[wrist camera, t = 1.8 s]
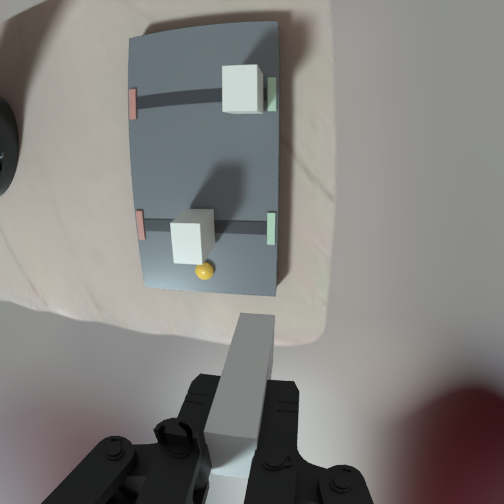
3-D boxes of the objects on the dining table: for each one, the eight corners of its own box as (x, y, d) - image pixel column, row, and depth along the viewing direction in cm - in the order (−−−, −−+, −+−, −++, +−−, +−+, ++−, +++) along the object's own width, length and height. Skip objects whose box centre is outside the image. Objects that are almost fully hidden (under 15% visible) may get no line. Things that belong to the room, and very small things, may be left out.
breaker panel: (138, 42, 26) (127, 37, 23) (278, 27, 24) (277, 19, 22) (152, 278, 35) (143, 288, 33) (276, 287, 34) (275, 298, 31)
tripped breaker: (187, 208, 29) (170, 222, 25) (213, 209, 29) (199, 223, 25) (190, 244, 31) (173, 263, 26) (215, 245, 30) (202, 264, 26)
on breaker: (233, 75, 24) (222, 66, 20) (263, 74, 24) (257, 64, 20) (234, 114, 26) (222, 111, 21) (263, 113, 25) (257, 110, 21)
